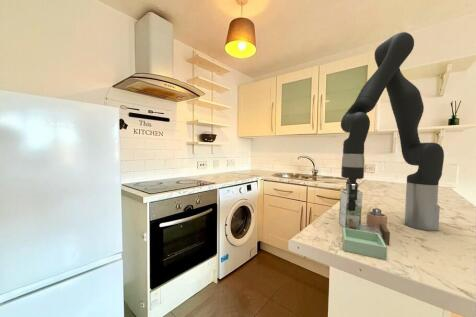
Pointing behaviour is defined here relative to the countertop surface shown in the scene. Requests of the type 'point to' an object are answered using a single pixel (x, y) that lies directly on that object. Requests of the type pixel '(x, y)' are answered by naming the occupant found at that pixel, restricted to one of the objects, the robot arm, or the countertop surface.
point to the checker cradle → (383, 230)
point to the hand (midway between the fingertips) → (350, 208)
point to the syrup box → (344, 211)
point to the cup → (376, 220)
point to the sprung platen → (368, 228)
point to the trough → (364, 243)
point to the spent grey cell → (376, 212)
